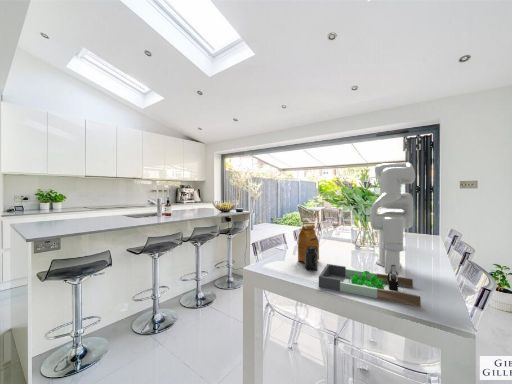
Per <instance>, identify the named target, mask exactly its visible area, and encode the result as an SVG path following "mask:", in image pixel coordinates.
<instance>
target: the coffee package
mask: <svg viewBox="0 0 512 384" xmlns="http://www.w3.org/2000/svg"><path fill="white" fill-rule="evenodd" d="M315 227H316V226H315V224H313V225H304V226H302V228H301V229H300V231H299V233H298V237H297V238H298V239H297V261H298V262H303V263H305V252H306V251H307V247H308V246H314V247H316V251H315V252H317V254H318V261H319V260H320V249H319V248H320V242H319V238H318V236H317V234H316V232H315Z"/></svg>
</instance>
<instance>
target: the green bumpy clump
mask: <svg viewBox="0 0 512 384" xmlns="http://www.w3.org/2000/svg"><path fill="white" fill-rule="evenodd" d="M363 271H364V273H366V275H365V274H364V273H363V275H362V277H361V279H360V277H359V276H358V275H357V274H355V275H354V274H353V275H354V277H353V275H352V277H349V278H348V283H351V284H356V285H362V286H364V285H366V286H367V287H373V288H378V289H384V290H385V287H386V285H387V283H385V281H384V280H383V281H384V283H383V282H382V281H381V280H382V279H377V277H376V276H375V275H373V276H372V277H371V280H367V274H370V271H368V270H363ZM358 277H359V278H358ZM350 280H351V281H350ZM377 280H378V282H377Z"/></svg>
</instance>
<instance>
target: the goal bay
mask: <svg viewBox="0 0 512 384" xmlns="http://www.w3.org/2000/svg"><path fill="white" fill-rule="evenodd" d="M364 271H365V270H358V269H351V268H346V269H345V277H348V278H350V277H352V275H353V274H354V275H355V274H357V275H358V276H359V277H360V280H361V277H362V275H363V273H364ZM369 272H370V271H369ZM364 274H365V275H366V273H364ZM354 275H353V277H354ZM373 275H375V276H376V277H377V272H370V274H367V281H371V277H372V276H373ZM359 277H358V278H359ZM339 292H343V293H349V294H354V295H360V296H365V297H370V298H373V299H374V298H375V299H378V298H377V288H376V287H375V288H374V286H373V287H367V285H363V286H362V285H356V284H351V282H350V283H349V282H344V281H343V282H340V291H339Z"/></svg>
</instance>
